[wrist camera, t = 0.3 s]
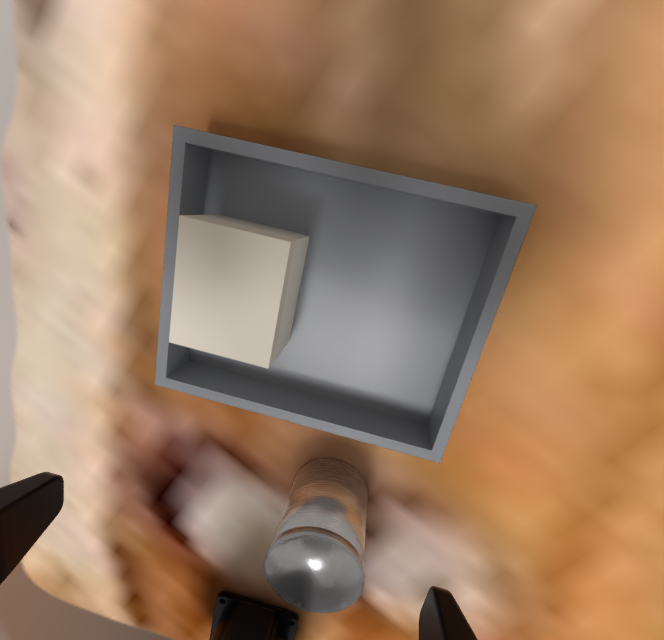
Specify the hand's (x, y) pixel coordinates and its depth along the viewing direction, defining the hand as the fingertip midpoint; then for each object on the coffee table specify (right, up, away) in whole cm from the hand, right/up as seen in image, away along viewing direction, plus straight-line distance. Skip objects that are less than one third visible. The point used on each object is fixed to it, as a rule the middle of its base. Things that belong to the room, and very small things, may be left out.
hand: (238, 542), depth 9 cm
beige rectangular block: (-2, +7, +12) cm, 14 cm away
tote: (+2, +7, +12) cm, 14 cm away
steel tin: (+2, -6, +16) cm, 17 cm away
